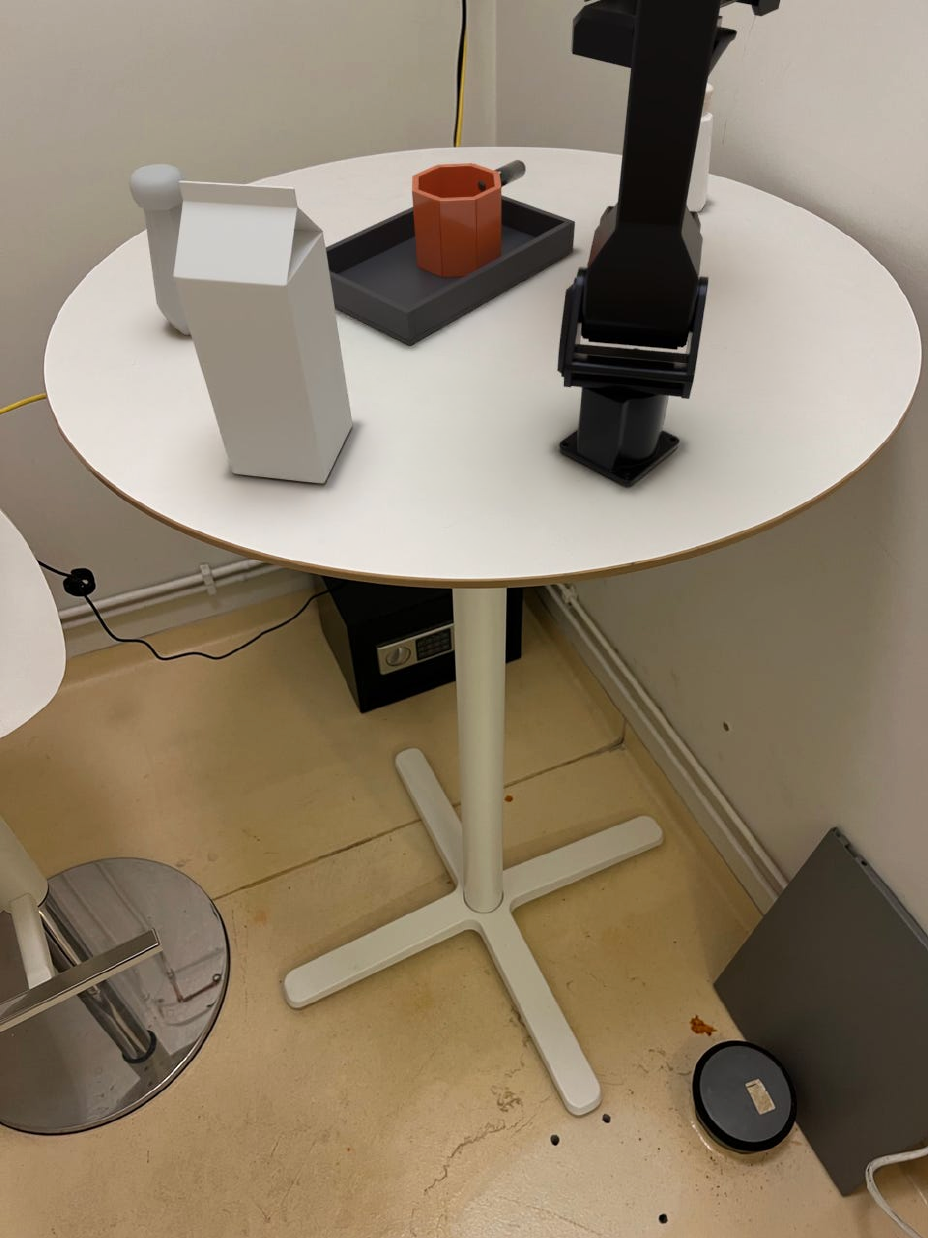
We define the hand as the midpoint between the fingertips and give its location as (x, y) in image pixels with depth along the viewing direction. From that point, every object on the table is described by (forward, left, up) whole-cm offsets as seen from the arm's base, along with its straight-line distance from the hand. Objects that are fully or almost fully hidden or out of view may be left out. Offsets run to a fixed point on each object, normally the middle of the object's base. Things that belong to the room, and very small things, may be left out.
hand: (664, 137), depth 67 cm
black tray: (-9, +17, -13) cm, 23 cm away
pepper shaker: (+18, +8, -13) cm, 24 cm away
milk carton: (-36, +6, -13) cm, 39 cm away
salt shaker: (-30, +27, -13) cm, 42 cm away
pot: (-4, +17, -12) cm, 21 cm away
